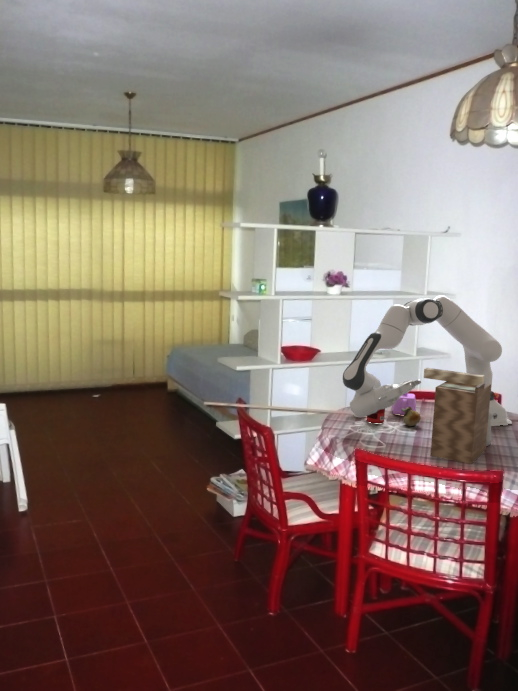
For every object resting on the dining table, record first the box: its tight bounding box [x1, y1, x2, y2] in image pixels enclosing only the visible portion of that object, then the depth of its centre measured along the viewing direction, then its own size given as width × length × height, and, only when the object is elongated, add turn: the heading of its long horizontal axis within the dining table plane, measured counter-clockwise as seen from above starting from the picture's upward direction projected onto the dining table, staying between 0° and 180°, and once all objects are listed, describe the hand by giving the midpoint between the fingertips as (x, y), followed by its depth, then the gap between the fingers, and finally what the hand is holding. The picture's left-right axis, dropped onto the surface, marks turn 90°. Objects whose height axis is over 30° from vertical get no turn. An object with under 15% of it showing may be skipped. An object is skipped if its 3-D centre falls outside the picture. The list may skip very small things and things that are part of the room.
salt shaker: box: [486, 412, 493, 447], centre depth 265 cm, size 6×6×13 cm
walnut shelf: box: [430, 381, 492, 465], centre depth 252 cm, size 15×20×28 cm
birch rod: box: [423, 367, 485, 386], centre depth 257 cm, size 22×4×4 cm, turn 58°
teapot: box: [391, 392, 417, 415], centre depth 309 cm, size 18×10×10 cm, turn 167°
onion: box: [401, 407, 422, 427], centre depth 289 cm, size 8×8×8 cm
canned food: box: [366, 408, 386, 424], centre depth 293 cm, size 8×8×11 cm
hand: (416, 383), depth 265 cm, fingers open, 8 cm apart
